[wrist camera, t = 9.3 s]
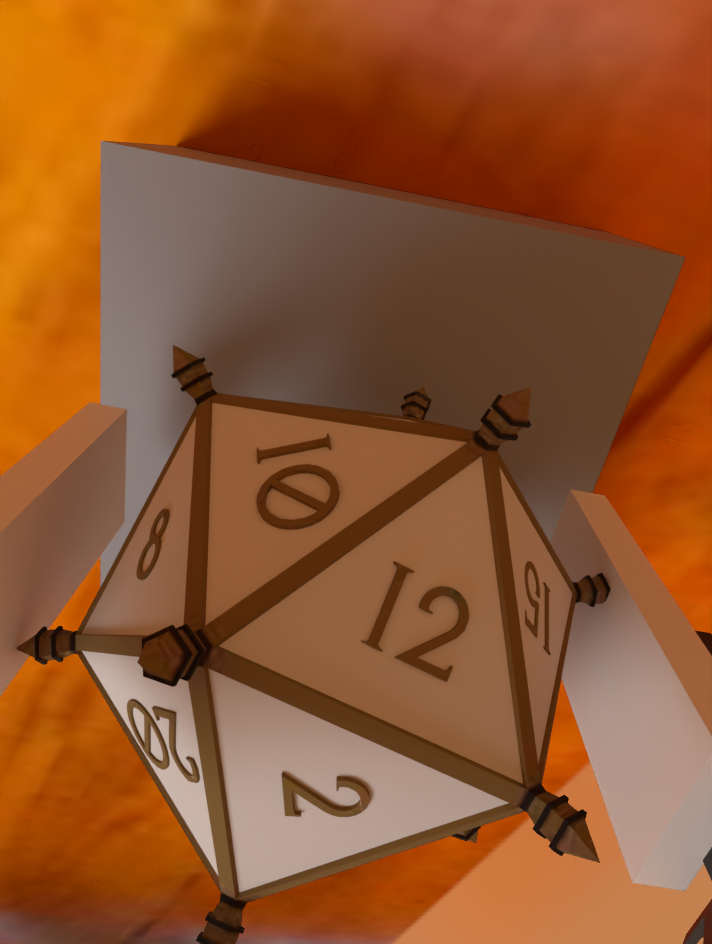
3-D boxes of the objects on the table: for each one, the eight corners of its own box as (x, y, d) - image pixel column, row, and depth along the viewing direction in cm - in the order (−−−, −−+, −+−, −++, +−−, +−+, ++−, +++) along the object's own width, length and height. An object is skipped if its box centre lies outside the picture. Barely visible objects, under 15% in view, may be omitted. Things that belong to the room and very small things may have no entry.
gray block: (490, 581, 23) (516, 685, 18) (157, 524, 22) (100, 615, 18) (608, 232, 18) (685, 257, 13) (175, 145, 17) (100, 140, 13)
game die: (349, 499, 18) (190, 894, 13) (138, 264, 13) (-261, 798, 8) (701, 505, 13) (643, 1156, 8) (607, 107, 7) (261, 1427, 3)
